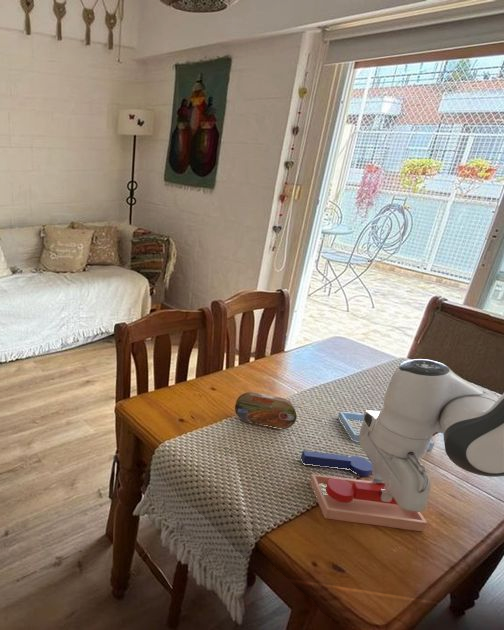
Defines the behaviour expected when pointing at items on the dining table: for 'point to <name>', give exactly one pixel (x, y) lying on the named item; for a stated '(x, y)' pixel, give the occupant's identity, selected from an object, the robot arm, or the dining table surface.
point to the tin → (265, 410)
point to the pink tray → (365, 509)
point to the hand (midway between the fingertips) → (380, 492)
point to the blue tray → (354, 436)
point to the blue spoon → (338, 462)
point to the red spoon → (355, 491)
